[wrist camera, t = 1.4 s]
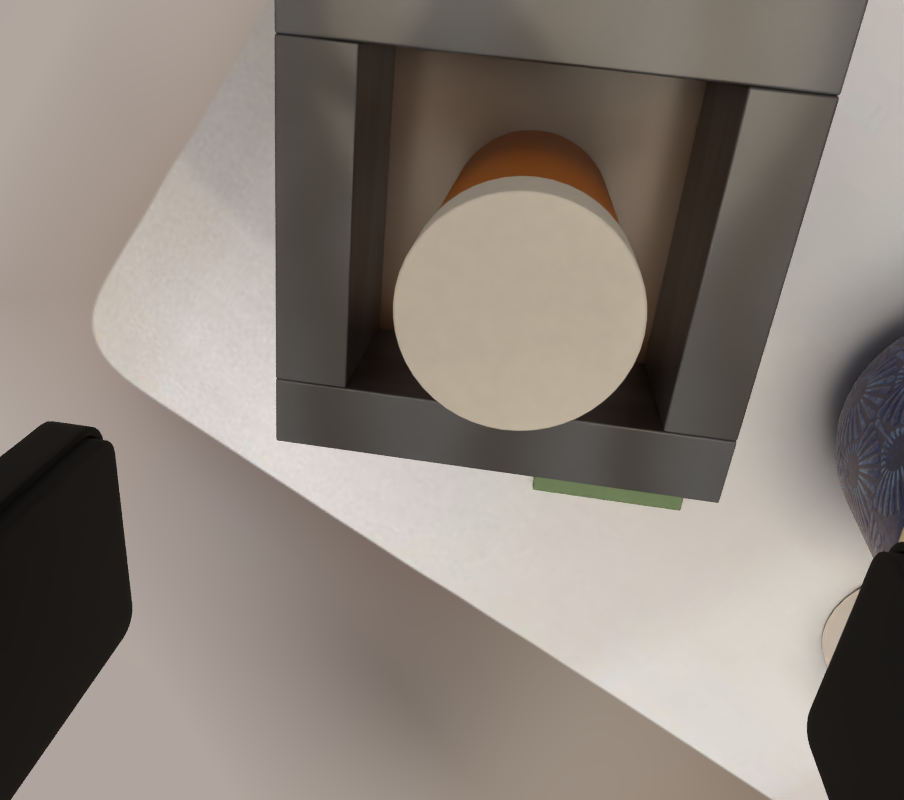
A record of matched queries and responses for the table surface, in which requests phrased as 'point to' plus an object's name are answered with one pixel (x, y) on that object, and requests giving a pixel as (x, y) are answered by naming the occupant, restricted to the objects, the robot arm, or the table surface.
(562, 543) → the table surface
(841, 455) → the planter
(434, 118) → the metal storage bin
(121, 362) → the table surface
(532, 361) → the medicine bottle
